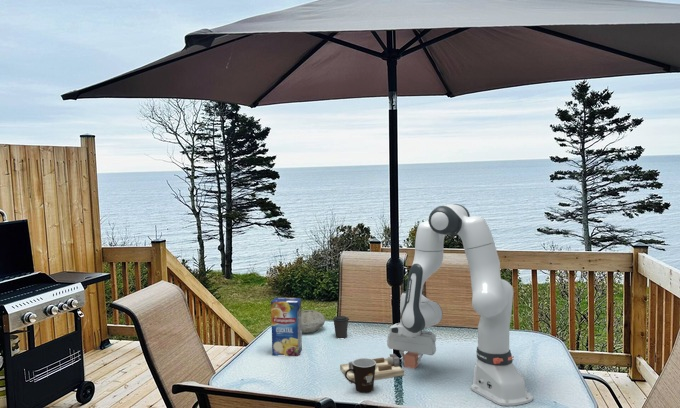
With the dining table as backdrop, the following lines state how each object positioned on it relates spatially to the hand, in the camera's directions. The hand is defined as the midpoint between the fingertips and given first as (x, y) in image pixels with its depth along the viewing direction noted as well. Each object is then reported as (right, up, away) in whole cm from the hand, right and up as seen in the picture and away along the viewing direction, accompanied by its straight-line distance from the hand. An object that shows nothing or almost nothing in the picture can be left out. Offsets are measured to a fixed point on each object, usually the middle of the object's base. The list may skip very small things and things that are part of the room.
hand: (411, 361), depth 200 cm
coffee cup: (-29, 0, +37) cm, 47 cm away
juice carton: (-53, -2, +18) cm, 56 cm away
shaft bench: (-17, -2, -6) cm, 18 cm away
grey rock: (-46, 0, +49) cm, 67 cm away
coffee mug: (-22, -4, -21) cm, 31 cm away
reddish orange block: (0, -2, 0) cm, 2 cm away
